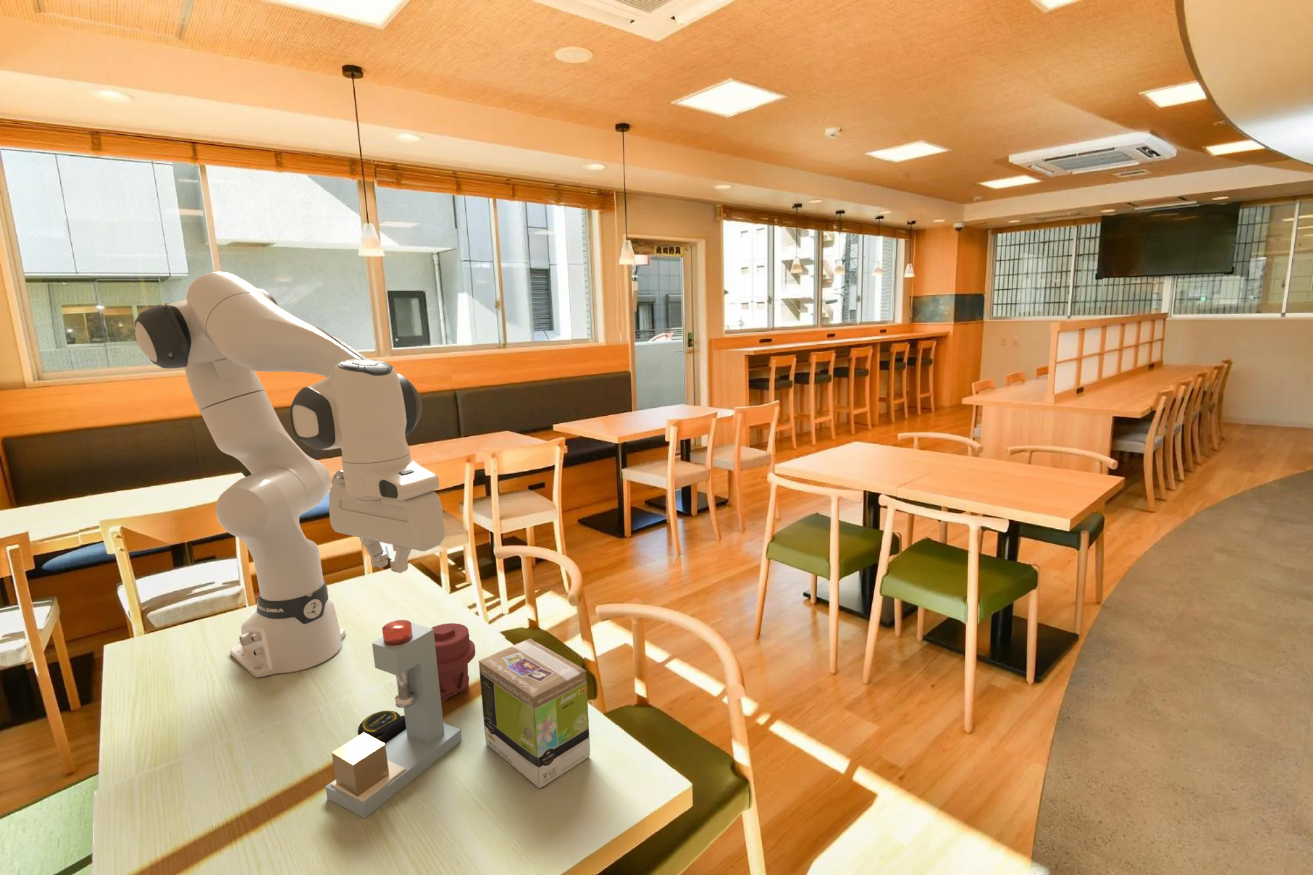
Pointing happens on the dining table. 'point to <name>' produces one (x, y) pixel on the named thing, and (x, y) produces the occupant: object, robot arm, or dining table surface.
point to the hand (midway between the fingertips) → (390, 568)
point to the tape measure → (383, 725)
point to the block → (360, 764)
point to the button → (399, 635)
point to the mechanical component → (452, 658)
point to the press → (407, 723)
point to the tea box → (535, 710)
